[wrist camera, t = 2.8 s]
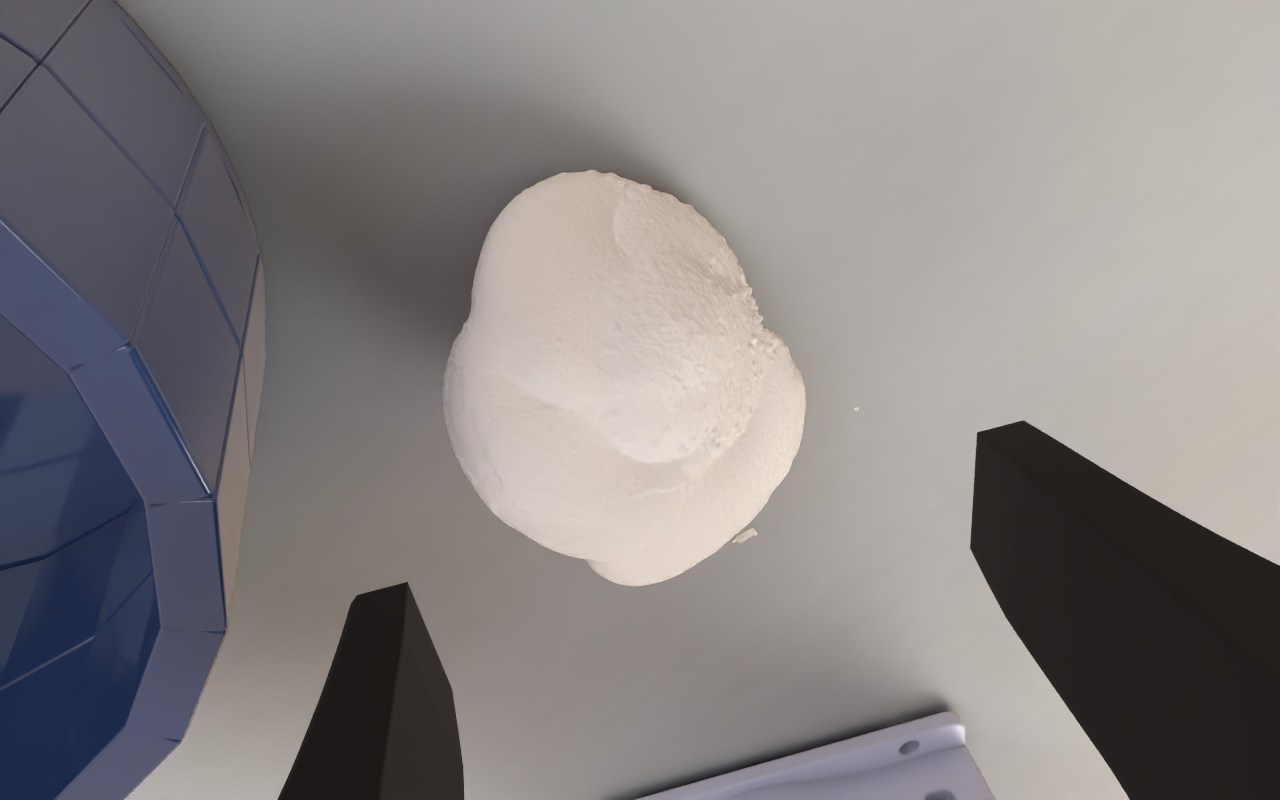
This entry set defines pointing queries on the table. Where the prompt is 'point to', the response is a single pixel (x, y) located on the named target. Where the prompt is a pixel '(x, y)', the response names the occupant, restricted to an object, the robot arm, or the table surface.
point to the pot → (115, 399)
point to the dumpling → (619, 380)
